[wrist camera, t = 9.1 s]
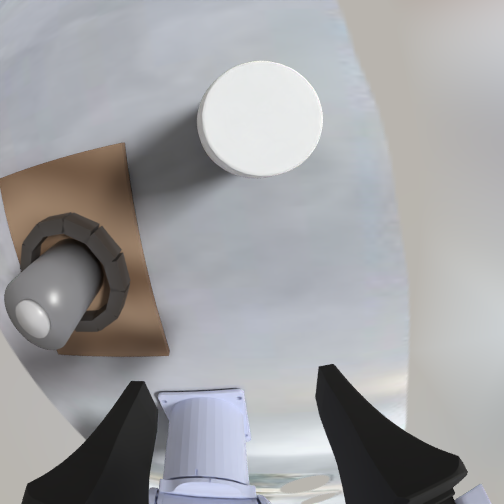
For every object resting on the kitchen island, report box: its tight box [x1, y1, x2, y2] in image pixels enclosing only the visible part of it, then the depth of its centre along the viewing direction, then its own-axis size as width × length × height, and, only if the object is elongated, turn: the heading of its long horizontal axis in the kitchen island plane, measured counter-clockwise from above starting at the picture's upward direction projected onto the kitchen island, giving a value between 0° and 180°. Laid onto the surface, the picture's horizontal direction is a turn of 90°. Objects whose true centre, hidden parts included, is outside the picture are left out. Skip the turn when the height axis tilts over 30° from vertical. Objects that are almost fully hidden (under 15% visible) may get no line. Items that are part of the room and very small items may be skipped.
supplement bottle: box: [197, 61, 323, 178], centre depth 12 cm, size 5×5×8 cm
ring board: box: [0, 143, 170, 357], centre depth 18 cm, size 16×11×2 cm
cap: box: [4, 239, 104, 350], centre depth 15 cm, size 5×5×6 cm
